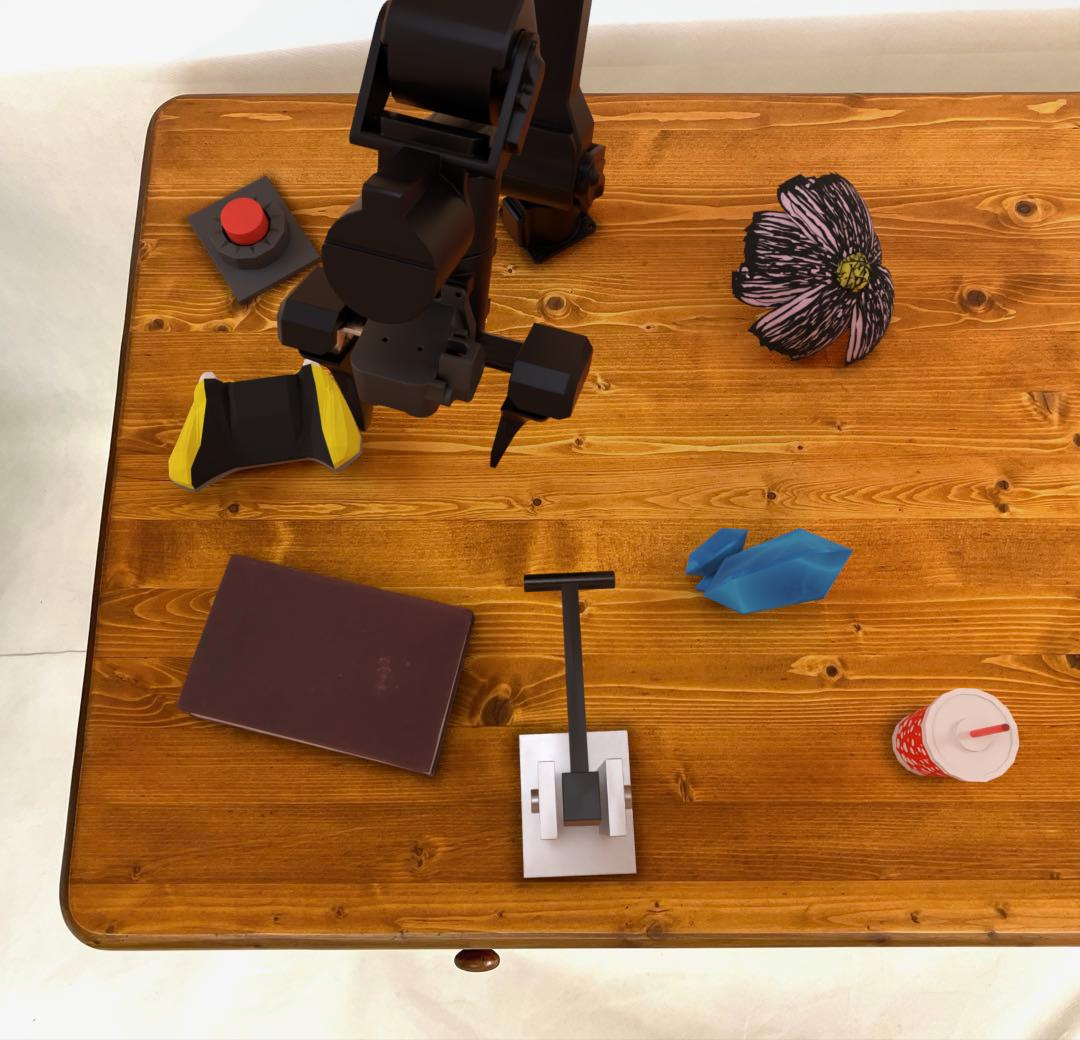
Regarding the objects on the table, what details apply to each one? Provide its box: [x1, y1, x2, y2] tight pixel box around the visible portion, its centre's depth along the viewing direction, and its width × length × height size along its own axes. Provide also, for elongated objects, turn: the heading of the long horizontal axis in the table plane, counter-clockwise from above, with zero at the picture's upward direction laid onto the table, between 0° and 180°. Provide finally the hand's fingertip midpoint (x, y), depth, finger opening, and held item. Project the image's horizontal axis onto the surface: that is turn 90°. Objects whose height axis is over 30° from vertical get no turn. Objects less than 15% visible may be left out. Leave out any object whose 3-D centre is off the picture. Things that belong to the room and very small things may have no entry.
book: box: [175, 553, 476, 777], centre depth 74 cm, size 12×19×3 cm, turn 76°
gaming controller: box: [167, 358, 364, 493], centre depth 78 cm, size 15×6×10 cm
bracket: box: [518, 729, 637, 879], centre depth 64 cm, size 10×8×16 cm
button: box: [221, 198, 268, 245], centre depth 83 cm, size 4×4×2 cm
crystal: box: [684, 527, 854, 616], centre depth 73 cm, size 7×9×12 cm
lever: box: [523, 570, 616, 827], centre depth 61 cm, size 16×6×2 cm, turn 2°
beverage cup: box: [891, 687, 1020, 783], centre depth 66 cm, size 6×6×14 cm
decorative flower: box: [731, 170, 895, 368], centre depth 79 cm, size 15×12×15 cm
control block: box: [186, 174, 322, 306], centre depth 85 cm, size 10×8×2 cm
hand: (429, 446), depth 66 cm, fingers open, 9 cm apart
